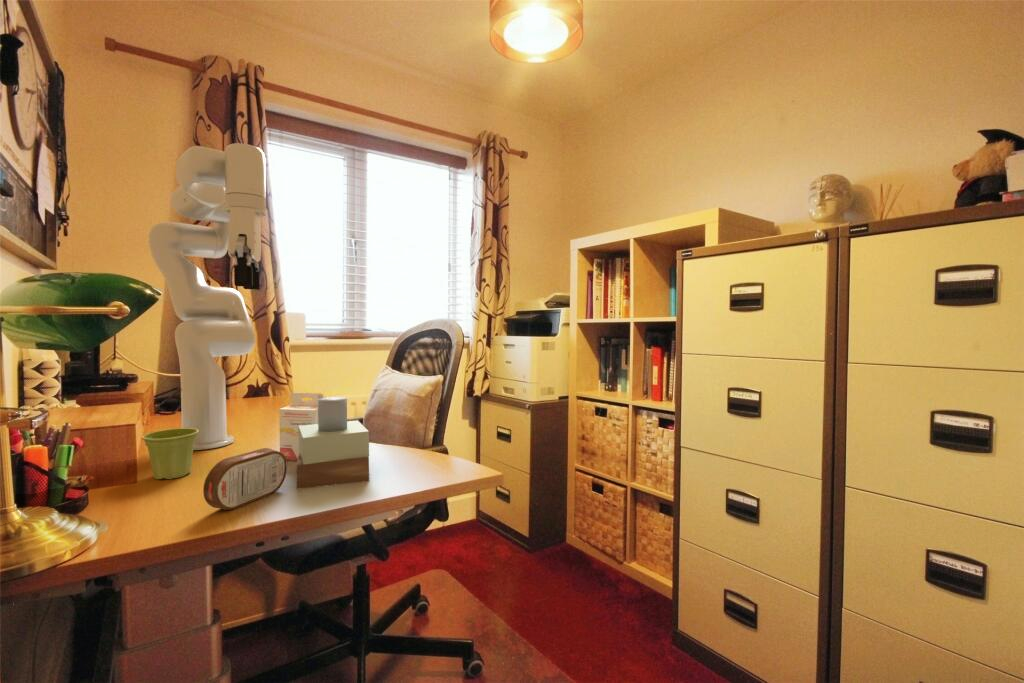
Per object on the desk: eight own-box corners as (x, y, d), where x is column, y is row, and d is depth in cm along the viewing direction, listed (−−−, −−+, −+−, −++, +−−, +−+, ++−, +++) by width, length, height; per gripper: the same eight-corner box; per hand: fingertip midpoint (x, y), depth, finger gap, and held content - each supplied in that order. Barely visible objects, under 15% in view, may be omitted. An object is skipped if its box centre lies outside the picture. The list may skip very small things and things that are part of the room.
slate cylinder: (319, 426, 101) (318, 397, 100) (347, 425, 102) (347, 396, 102) (317, 432, 95) (317, 402, 95) (347, 430, 97) (346, 400, 97)
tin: (278, 486, 92) (277, 442, 92) (290, 488, 91) (290, 444, 91) (202, 516, 78) (200, 464, 78) (216, 518, 77) (214, 466, 77)
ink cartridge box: (278, 460, 109) (277, 395, 109) (290, 454, 114) (289, 392, 114) (315, 461, 109) (314, 396, 108) (325, 455, 114) (324, 392, 113)
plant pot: (152, 486, 92) (151, 441, 92) (136, 476, 98) (134, 433, 98) (207, 474, 100) (206, 432, 99) (189, 465, 105) (188, 426, 105)
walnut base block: (300, 471, 103) (300, 447, 103) (364, 465, 108) (364, 442, 108) (296, 491, 91) (296, 464, 91) (369, 483, 96) (368, 458, 95)
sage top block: (298, 449, 102) (298, 425, 102) (358, 442, 107) (357, 420, 107) (303, 464, 91) (303, 437, 91) (369, 456, 97) (368, 431, 97)
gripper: (234, 213, 110) (235, 289, 111) (216, 194, 94) (218, 284, 94) (271, 216, 112) (272, 290, 113) (259, 198, 96) (261, 285, 97)
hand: (247, 287), depth 104 cm, fingers open, 9 cm apart
